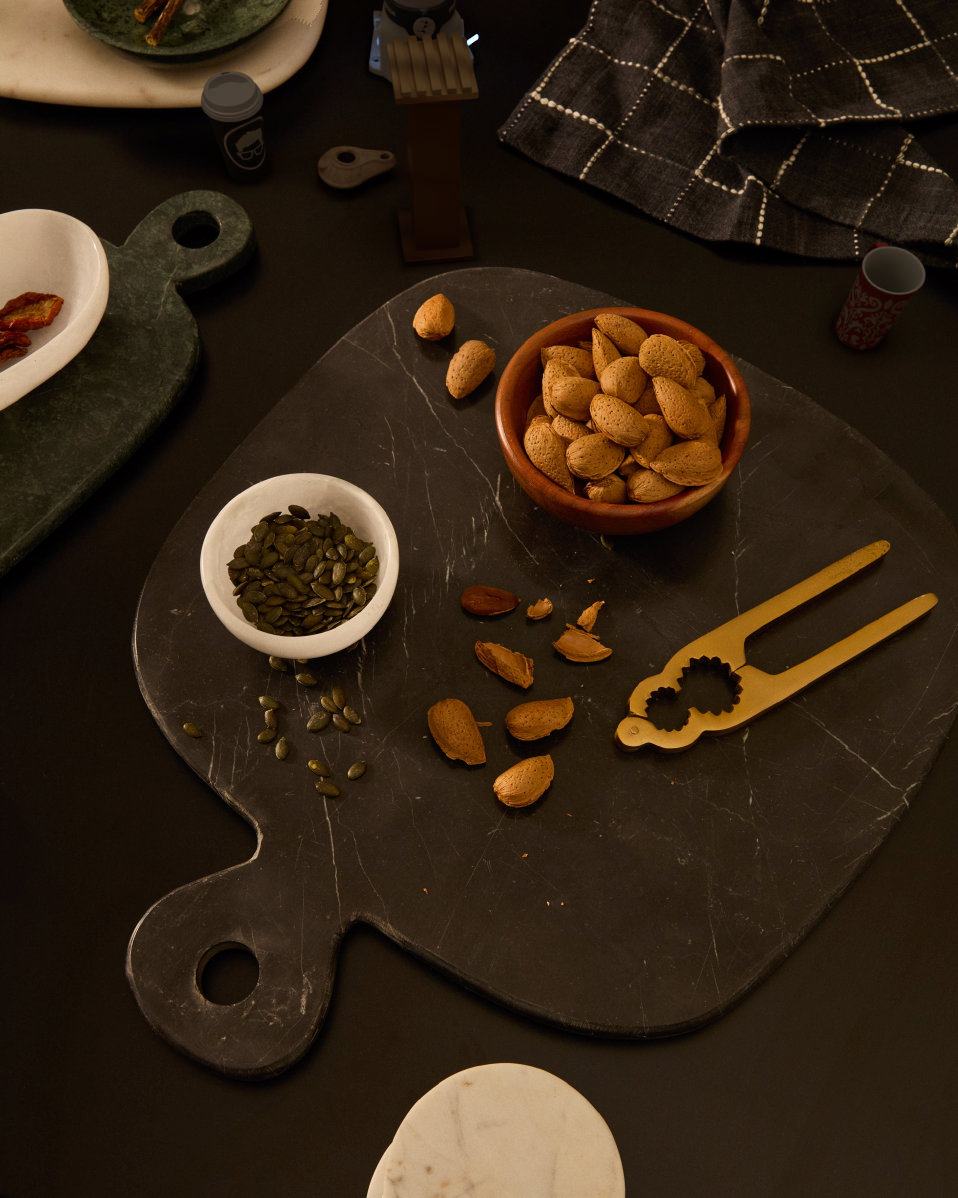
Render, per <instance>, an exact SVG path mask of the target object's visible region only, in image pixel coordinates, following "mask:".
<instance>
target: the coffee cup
mask: <svg viewBox="0 0 958 1198" xmlns="http://www.w3.org/2000/svg"><path fill="white" fill-rule="evenodd" d="M263 103H264V95H263V92H262V90H261V88H260V87H259V86H258V84H257V83H256V82H255V81H254V80H253V78H252V77H250V76H249V75H248V74H246V73H244V72H241V71H234V70H227V71H221V72H218V73H215V74H213V75H212V76H211V77H209V78H208V79H207V81H206V82H205V84H204V85H203V90H202V91H201V96H200V106H201V109H202V111H203V112H204V113H205V114H206V115H207V117H208V119H209V122H210V125H211V128H212V130H213V133H214V136H215V139H216V141H217V144H218V146H219V151H220V153H221V156H222V158H223V161H224V163H225V166H226V169H227V172H228V174H229V176H230V178H232V179H233V180H234V181H236V182H239V183H242V184H250V183H251V184H252V183H256V182H258V181H260V180H262V179H263V178H264V177H265V176H266V174H267V172H268V167H269V166H268V159H267V149H266V140H265V130H264V121H263V120H264V119H263V110H262V106H263V105H264V104H263Z"/></svg>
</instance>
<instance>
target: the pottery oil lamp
mask: <svg viewBox="0 0 958 1198" xmlns="http://www.w3.org/2000/svg"><path fill="white" fill-rule="evenodd" d="M396 163H397V160H396V157H395V155H394V153H392V152H390V151H389V150H383V149H377V150H376V149H365V148H360V147H358V146H357V147H356V146H351V145H342V146H341V145H340V146H335V147H331V148H330V149H329V150H328V151H326V152H324V153H323V155H322V156H321V157H320V159H319V160H318V162H317V172H318V176H319V178H320V179H321V180H322V181H323V182H324V183H325V184H326V185H327V186H329V187H331V188H335V189H338V190H353V189H356V188H358V187H360V186H361V185H362V184H363V183H364V182H367V181H369V180H371V179H373V178H376V177H378V176H381V175H383V174H386V173H387V172H390V170H392V168H394V167H395V165H396Z"/></svg>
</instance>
